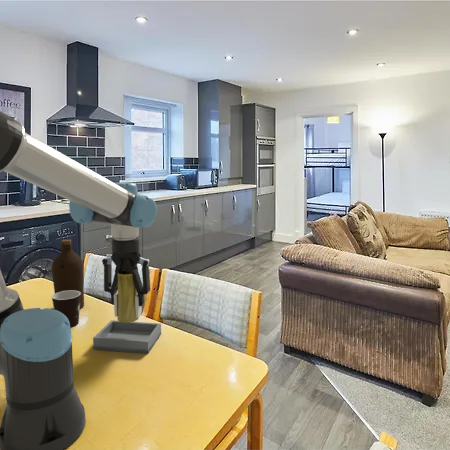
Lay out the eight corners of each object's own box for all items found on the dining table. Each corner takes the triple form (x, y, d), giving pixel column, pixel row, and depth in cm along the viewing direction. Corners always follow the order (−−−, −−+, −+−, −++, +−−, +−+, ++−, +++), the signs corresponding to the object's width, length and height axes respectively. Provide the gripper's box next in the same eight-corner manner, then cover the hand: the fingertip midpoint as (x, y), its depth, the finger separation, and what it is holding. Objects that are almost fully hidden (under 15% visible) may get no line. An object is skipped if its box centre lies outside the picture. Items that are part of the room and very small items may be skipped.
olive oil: (89, 309, 133) (85, 241, 129) (57, 315, 127) (52, 244, 123) (82, 300, 142) (78, 236, 138) (52, 305, 136) (47, 239, 132)
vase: (113, 321, 106) (111, 273, 104) (124, 313, 112) (123, 267, 110) (131, 324, 105) (130, 275, 102) (142, 316, 110) (141, 269, 108)
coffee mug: (72, 331, 116) (70, 300, 114) (47, 328, 117) (45, 298, 116) (92, 316, 127) (91, 288, 125) (69, 314, 129) (68, 286, 127)
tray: (148, 353, 102) (148, 341, 102) (93, 349, 104) (93, 337, 104) (161, 334, 114) (161, 323, 114) (111, 330, 116) (111, 320, 116)
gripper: (161, 236, 107) (163, 312, 111) (100, 234, 109) (103, 308, 113) (153, 241, 99) (155, 322, 103) (87, 239, 102) (91, 318, 106)
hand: (128, 315), depth 108 cm, fingers closed on vase, 6 cm apart
